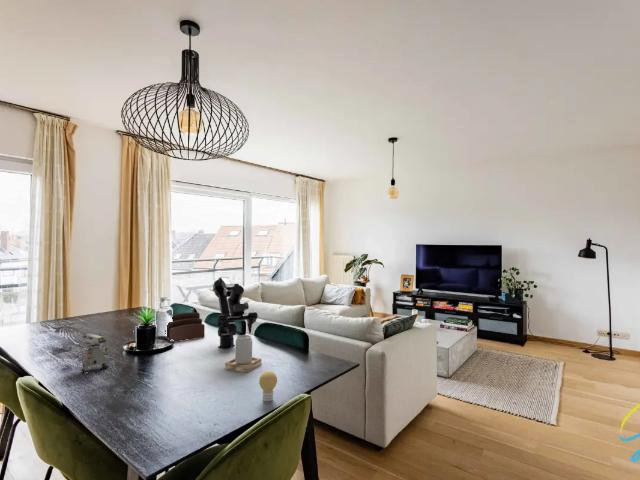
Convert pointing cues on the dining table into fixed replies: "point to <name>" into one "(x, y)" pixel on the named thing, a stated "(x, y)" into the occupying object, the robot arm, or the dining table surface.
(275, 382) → the light bulb
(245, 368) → the wooden tray
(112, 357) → the dining table surface
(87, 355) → the figurine
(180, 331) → the letter holder
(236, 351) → the can
